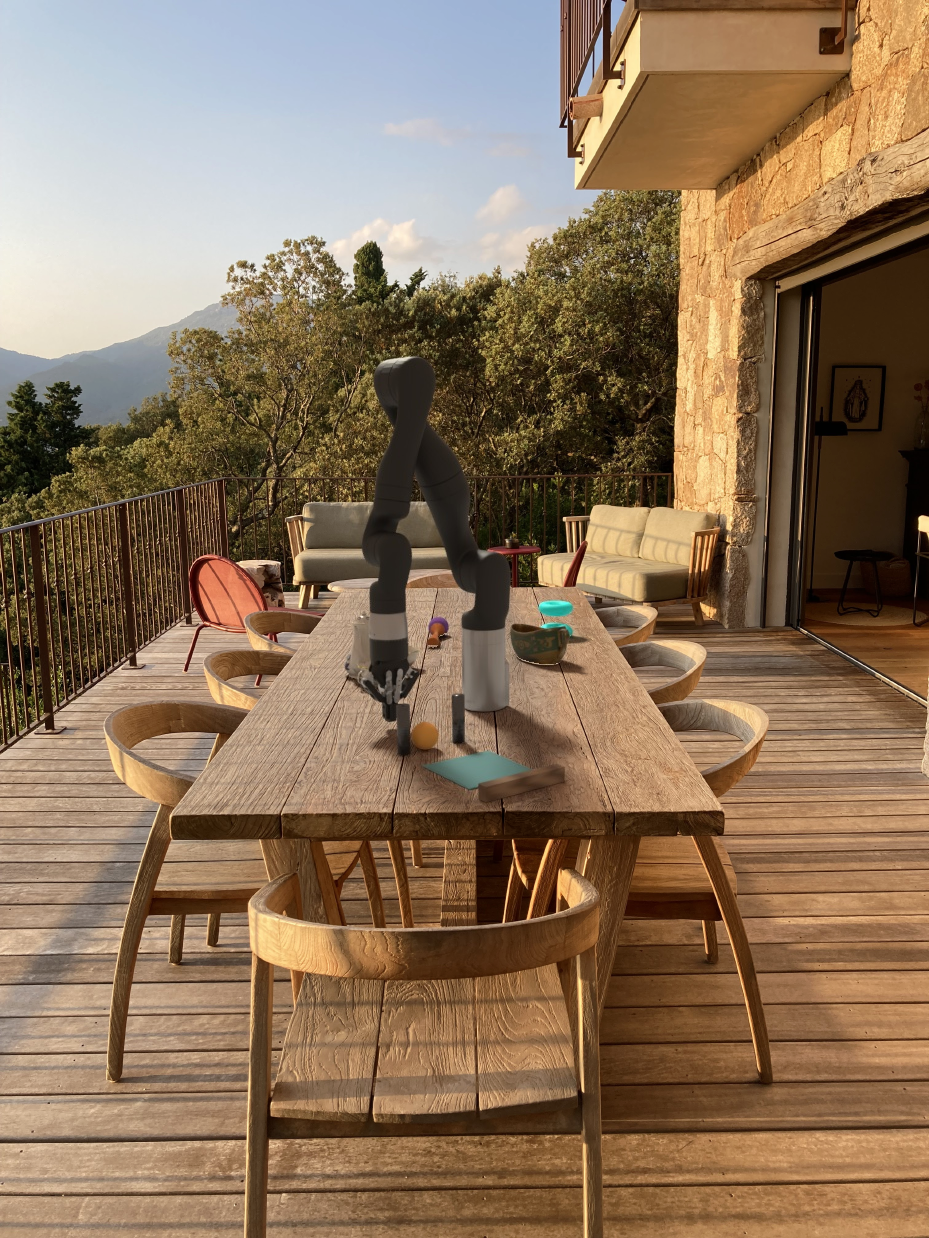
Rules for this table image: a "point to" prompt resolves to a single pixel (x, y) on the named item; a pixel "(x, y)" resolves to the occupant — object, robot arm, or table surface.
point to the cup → (539, 643)
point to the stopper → (521, 782)
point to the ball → (425, 735)
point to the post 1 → (403, 729)
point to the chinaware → (366, 650)
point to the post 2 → (458, 718)
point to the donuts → (556, 612)
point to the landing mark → (476, 768)
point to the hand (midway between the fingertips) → (390, 720)
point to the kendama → (437, 629)
